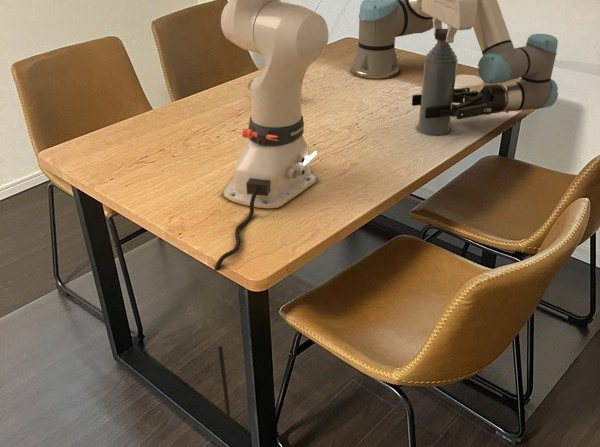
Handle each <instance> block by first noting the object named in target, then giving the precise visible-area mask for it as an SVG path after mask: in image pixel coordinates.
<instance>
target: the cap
mask: <svg viewBox="0 0 600 447" xmlns="http://www.w3.org/2000/svg"><path fill="white" fill-rule="evenodd" d="M447 32H448V28H442V29H437V30H436V32H435V36H434V39H435V40H436V41H437V40H439V41H444V39H445V35H446V34H447Z"/></svg>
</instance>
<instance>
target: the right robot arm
mask: <svg viewBox="0 0 600 447" xmlns="http://www.w3.org/2000/svg"><path fill="white" fill-rule="evenodd" d="M421 4H422V0H362V1H361V3H360V4H359V5H360V6H359V14H358V18H359V20H358V45H357V46H358V47H357V50H356V54H355V56H354V59H353V62H352V65H351V72H352V74H353V75H355V76H357V77H359V78H363V79H369V80H370V79H371V80H384V79H390V78H392V77H395V76H397V75H398V74H399V71H400V66H399V65H400V64H399V62H398V57H397V53H396V50H395V48H396V47H395V45H396V38H399V37H404V36H410V35H414V34H424V33H426V32H428V31H431V30H433V29H434V25H433V17H432V16H430V15H428V14H426V13H424V12H423V11H422V7H421ZM472 28H473V31H474V33H475V34H474V35H475V36H476V37H475V38H476V39H477V42H478V45H479V48H480V51H481V54H482V56H481V57H480V59H479V61H478V64H477V67H478V70H477V73H478V77H480V78H481V79H482V80H483V81H484V83H486V85H483V89H482V90H481V91H480V92H478V91H471V92H470V88H468V87H466V88H458V89H454V95H453V104H452V108H451V106H450V105H445V106H435V107H426V110H425V118H426V119H427V118H436V117H446V116H451V118H455V119H456V120H463V119H464V120H465V119H469V118H473V117H479V116H488V115H491V114H492V115H493V114H500V113H506V114H509V112H517V111H526V110H527V111H528V110H540V109H546V108H550V107H552V106H554V104H555V103H556V102H557V100H558V97H559V92H558V89H559V86H558V84H557V82H556V81H555V80H554V79H552V75H553V71H554V66H555V61H556V57H557V53H558V52H557V51H558V46H559V40H558V38H557V37H556V36H554V35H552V34H548V33H533V34H531V35H530V36H528V37H527V40H526V43H525V45H523V46H519V47H515V46H514V44H513V41H512V39H511V36H510V33H509V31H508V30H509V29H508V27H507V25H506V21H505V19H504V16H503V14H502V10H501V7H500V5H499V1H498V0H477V11H476V17H475V23H474V25H473V27H472ZM517 79H520V81H513V80H517ZM509 81H513V82H509ZM411 97H412V98H411V106H412V107H416V106H420V103H421V94H412V96H411Z"/></svg>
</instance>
